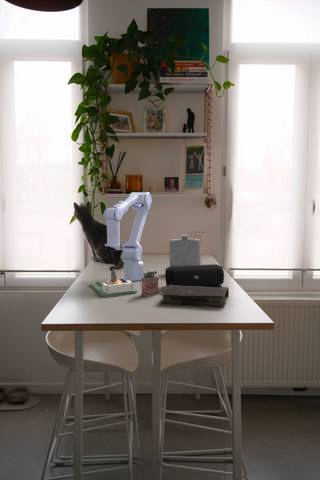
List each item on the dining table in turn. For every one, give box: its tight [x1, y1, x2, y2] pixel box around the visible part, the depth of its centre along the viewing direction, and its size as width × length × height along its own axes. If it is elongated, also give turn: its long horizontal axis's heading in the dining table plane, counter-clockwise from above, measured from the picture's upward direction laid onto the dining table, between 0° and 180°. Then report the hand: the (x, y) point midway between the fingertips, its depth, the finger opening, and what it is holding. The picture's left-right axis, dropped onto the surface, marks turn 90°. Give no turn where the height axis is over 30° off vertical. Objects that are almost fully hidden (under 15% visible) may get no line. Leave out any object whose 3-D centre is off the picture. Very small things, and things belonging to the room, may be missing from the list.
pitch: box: [89, 279, 138, 298], centre depth 209 cm, size 15×23×2 cm, turn 22°
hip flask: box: [168, 234, 202, 267], centre depth 240 cm, size 16×4×20 cm, turn 85°
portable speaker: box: [164, 263, 225, 287], centre depth 211 cm, size 26×10×10 cm, turn 97°
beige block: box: [105, 269, 123, 285], centre depth 206 cm, size 6×5×8 cm
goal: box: [102, 280, 134, 294], centre depth 202 cm, size 12×6×4 cm, turn 112°
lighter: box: [140, 270, 160, 297], centre depth 198 cm, size 8×3×10 cm, turn 117°
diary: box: [159, 285, 230, 309], centre depth 188 cm, size 19×25×5 cm
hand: (113, 263), depth 214 cm, fingers open, 7 cm apart
